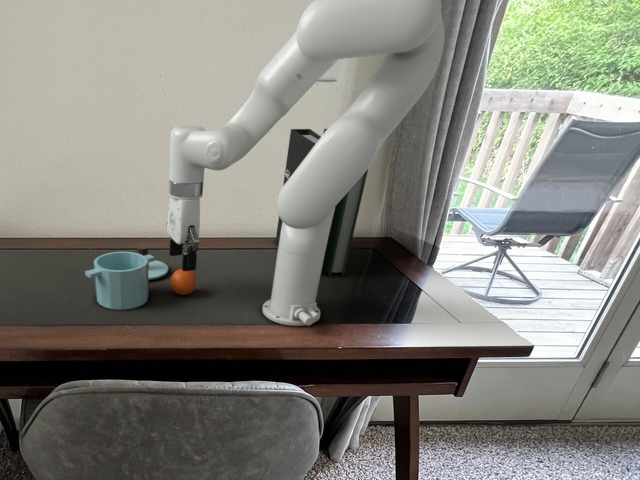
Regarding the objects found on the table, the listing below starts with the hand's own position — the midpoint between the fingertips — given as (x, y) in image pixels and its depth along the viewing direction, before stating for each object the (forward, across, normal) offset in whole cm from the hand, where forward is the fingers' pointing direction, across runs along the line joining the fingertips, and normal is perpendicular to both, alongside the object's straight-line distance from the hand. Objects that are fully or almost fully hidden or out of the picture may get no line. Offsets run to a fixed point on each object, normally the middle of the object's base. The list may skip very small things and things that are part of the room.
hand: (182, 262), depth 113 cm
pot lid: (+8, -16, -6) cm, 18 cm away
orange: (+8, 0, 0) cm, 8 cm away
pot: (+8, -2, -14) cm, 17 cm away
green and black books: (+8, -13, +42) cm, 45 cm away
